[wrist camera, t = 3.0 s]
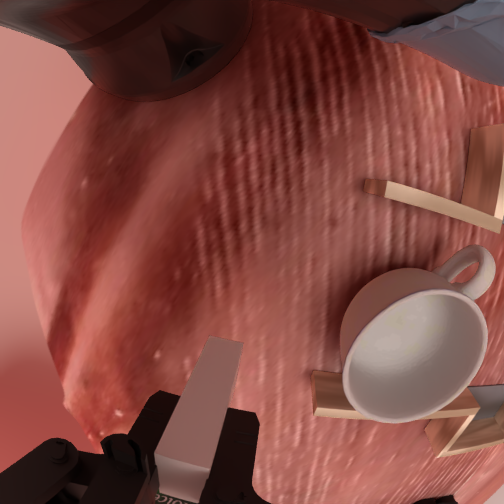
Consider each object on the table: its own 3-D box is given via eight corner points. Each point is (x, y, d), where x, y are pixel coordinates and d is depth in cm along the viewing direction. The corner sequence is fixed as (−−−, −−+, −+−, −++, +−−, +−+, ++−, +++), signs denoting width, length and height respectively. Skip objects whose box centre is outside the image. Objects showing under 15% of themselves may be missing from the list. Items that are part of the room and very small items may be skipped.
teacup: (378, 383, 25) (398, 442, 17) (302, 319, 24) (307, 381, 16) (481, 283, 21) (531, 319, 13) (422, 197, 20) (479, 211, 12)
